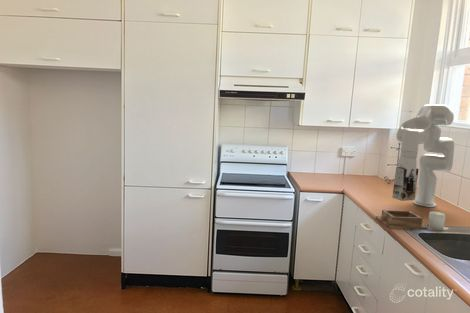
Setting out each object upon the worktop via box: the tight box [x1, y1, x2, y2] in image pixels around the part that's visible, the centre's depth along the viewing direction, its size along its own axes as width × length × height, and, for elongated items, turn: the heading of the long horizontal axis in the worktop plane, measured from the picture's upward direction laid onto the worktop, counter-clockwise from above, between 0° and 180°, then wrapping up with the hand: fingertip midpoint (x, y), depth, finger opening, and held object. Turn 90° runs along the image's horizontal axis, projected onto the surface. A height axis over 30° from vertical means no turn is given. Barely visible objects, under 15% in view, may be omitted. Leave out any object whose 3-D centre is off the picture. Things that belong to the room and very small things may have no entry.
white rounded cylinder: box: [427, 211, 446, 230], centre depth 175 cm, size 7×7×7 cm
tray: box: [375, 209, 429, 230], centre depth 178 cm, size 16×19×5 cm
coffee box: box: [392, 166, 420, 202], centre depth 176 cm, size 9×6×16 cm
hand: (404, 188), depth 176 cm, fingers closed on coffee box, 8 cm apart
